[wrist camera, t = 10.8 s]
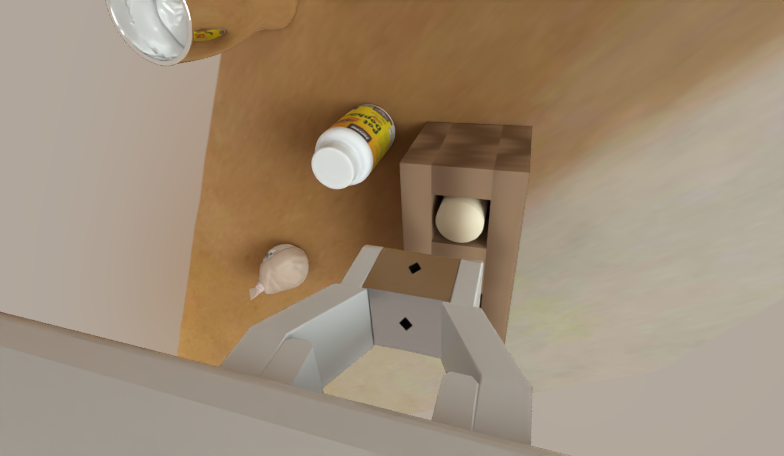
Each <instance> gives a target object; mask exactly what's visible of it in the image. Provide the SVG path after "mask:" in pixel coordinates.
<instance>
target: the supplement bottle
mask: <svg viewBox="0 0 784 456" xmlns="http://www.w3.org/2000/svg"><path fill="white" fill-rule="evenodd" d="M394 139H395V127H394V123H393V121H392V119H391V117H390V116H389V115H388V113H387V112H386V111H384V110H383V109H382V108H380V107H378V106H376V105H372V104H363V105H359V106H357V107H355V108H353V109H352V110H351V111H349V112H348V113H347V114H346V115H345V116H343V117H342V118H341V119H340V120H338V121H337V122H336V123H335V124H333V125H332V126H331V127H330V128H329V129H327V130H326V131H325V132H324V133H323V134H322V135H321V136H320V137H319V139H318V140H317V143H316V146H315V154H314V155H313V157H312V162H311V165H312V170H313V173H314V175H315V176H316V178H317V179H318V180H319V181H320V182H321V183H322V184H323V185H325V186H327V187H329V188H332V189H342V188H345V187H347V186H348V185H349V186H350V185H355V184H358V183H360V182H362V181H363V180H365V179H366V178H367V177H368V175H369V174H370V173H371V172H372V170H373V169H374V168H375V166H376V165H377V164H378V163H379V161H380V160H381V159H382V157H383V156H384V155H385V154H386V152H387V151H388V150H389V149H390V147H391V146H392V144H393V142H394Z"/></svg>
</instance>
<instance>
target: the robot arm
mask: <svg viewBox="0 0 784 456" xmlns="http://www.w3.org/2000/svg"><path fill="white" fill-rule="evenodd" d="M482 275H483V261H482V260H475V259H466V258H462V259H460V258H452V257H445V256H438V255H430V254H422V253H418V252H412V251H406V250H399V249H393V248H387V247H385V248H384V247H379V246H373V245H365V246H363V247H362V249H361V250H360V252H359V254H358V255H357V257H356V258H355V260H354V262H353V263H352V265H351V267H350V268H349V270H348V271H347V273H346V275H345V276H344V278H343V280H342V281H341V283H340V284H337V283H334V284H332V285H330V286H328V287H326V288H324V289H322V290H320V291H318V292H317V293H315V294H313V295H311V296H309V297H307V298H305V299H303V300H301V301H299V302H297V303H295V304H293V305H291V306H290V307H288V308H286V309H284V310H282V311H280V312H278V313H276V314H274V315H272V316H270V317H268V318H266V319H264V320H262V321H261V322H259V323H257V324H255V325H253V326H251V327H250V328H249V329H248V331H247V332H246V333H245V334H244V336H243V337H242V338H241V340H240V341H239V342H238V343H237V345H236V346H235V347H234V349H233V350H232V351H231V352H230V354H229V355H228V356H227V357H226V359H225V360H224V361H223V363H222V364H221V365H220V366H219V367H217V366H213V365H209V364H205V363H201V362H197V361H194V360H190V359H186V358H182V357H178V356H174V355H170V354H166V353H162V352H157V351H154V350H149V349H146V348H142V347H138V346H134V345H130V344H126V343H122V342H118V341H114V340H110V339H106V338H102V337H98V336H94V335H90V334H86V333H82V332H79V331H75V330H71V329H66V328H62V327H59V326H55V325H51V324H46V323H43V322H39V321H35V320H30V319H27V318H23V317H19V316H15V315H11V314H7V313H3V312H0V456H570V455H566V454H561V453H558V452H554V451H550V450H546V449H542V448H538V447H534V446H531V418H532V387H531V385H530V384H529V382H528V381H527V379H526V377H525V376H524V374H523V373H522V371H521V370H520V368H519V367H518V365H517V363H516V362H515V360H514V359H513V357H512V356H511V354H510V352H509V351H508V349H507V348H506V346H505V345H504V343H503V342H502V340H501V338H500V337H499V335H498V334H497V332H496V331H495V329H494V328H493V326H492V324H491V323H490V321H489V320H488V318H487V317H486V315H485V313H484V312H483V310H482V309H481V308H479V305H480V296H481V285H482ZM373 345H378V346H384V347H390V348H395V349H401V350H406V351H411V352H415V353H419V354H423V355H428V356H432V357H436V358H440V359H441V361H442V364H443V366H444V369H445V372H446V374H445V375H443V377H442V381H441V385H440V389H439V393H438V397H437V401H436V405H435V409H434V413H433V417H432V420H427V419H423V418H419V417H415V416H411V415H407V414H403V413H399V412H395V411H391V410H387V409H383V408H379V407H375V406H372V405H368V404H364V403H360V402H356V401H352V400H348V399H344V398H340V397H336V396H332V395H328V394H324V393H323V388H324V387H325V386H326V385H327V384H329V383H330V382H331V381H332V380H333V379H335V378H336V377H337V376H338V375H340V374H341V373H342V372H343V371H344V370H346V369H347V368H348V367H349V366H351V365H352V364H353V363H354V362H355V361H357V360H358V359H359V358H360V357H361V356H363V355H364V354H365V353H366V352H368V351H369V350H370V349H371V348H372V347H373Z"/></svg>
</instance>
